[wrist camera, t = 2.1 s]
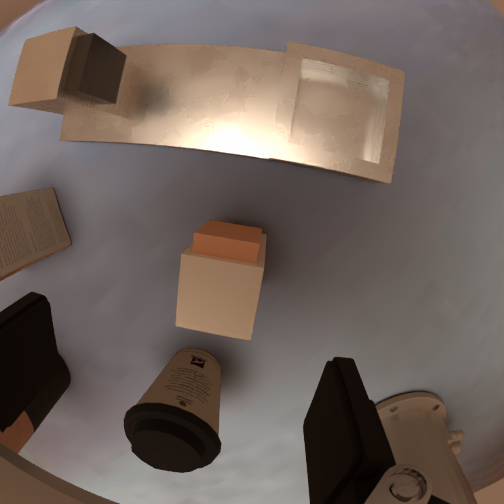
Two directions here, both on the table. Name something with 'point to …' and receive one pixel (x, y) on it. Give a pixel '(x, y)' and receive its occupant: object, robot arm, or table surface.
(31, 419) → the travel mug
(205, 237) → the beige orange block
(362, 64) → the rail
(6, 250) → the small box
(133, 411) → the coffee cup
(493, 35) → the table surface
